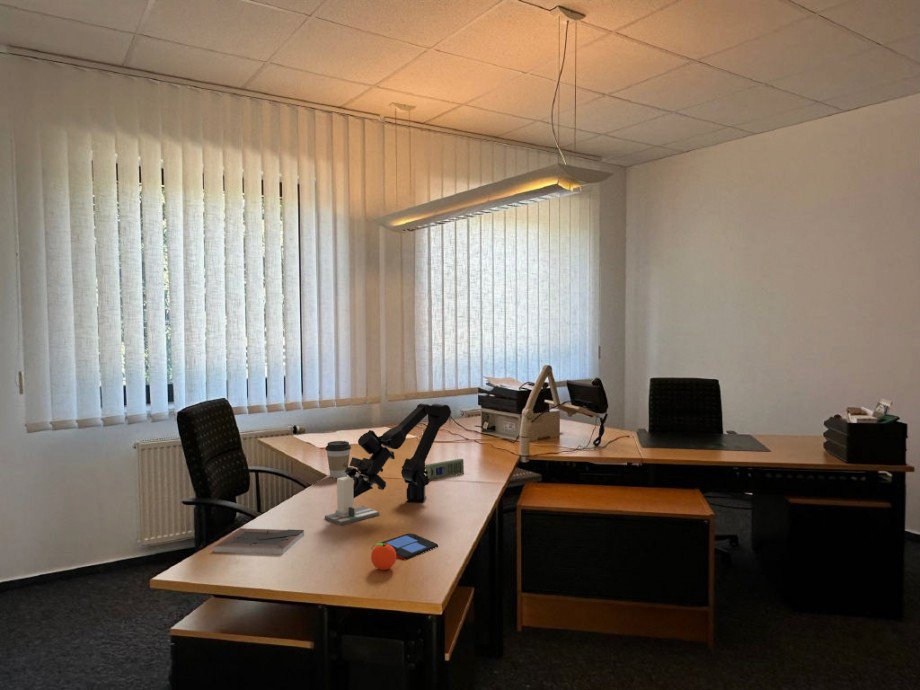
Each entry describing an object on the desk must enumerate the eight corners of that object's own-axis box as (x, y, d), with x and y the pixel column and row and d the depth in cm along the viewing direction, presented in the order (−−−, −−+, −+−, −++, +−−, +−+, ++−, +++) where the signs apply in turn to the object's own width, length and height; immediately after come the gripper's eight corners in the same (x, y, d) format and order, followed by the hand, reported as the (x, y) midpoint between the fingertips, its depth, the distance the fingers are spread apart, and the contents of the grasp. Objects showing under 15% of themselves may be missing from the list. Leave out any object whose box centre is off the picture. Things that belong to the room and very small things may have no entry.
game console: (404, 562, 178) (404, 554, 178) (375, 551, 186) (375, 543, 186) (439, 548, 188) (439, 540, 188) (410, 538, 197) (410, 531, 197)
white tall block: (347, 511, 220) (347, 475, 219) (359, 516, 214) (359, 479, 214) (335, 514, 216) (335, 478, 216) (347, 519, 211) (346, 482, 210)
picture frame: (304, 537, 199) (240, 535, 202) (304, 529, 199) (240, 527, 202) (283, 556, 183) (214, 554, 186) (283, 548, 183) (213, 545, 186)
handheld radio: (465, 473, 279) (418, 482, 264) (460, 472, 282) (414, 481, 267) (464, 459, 279) (418, 467, 264) (460, 458, 282) (413, 466, 267)
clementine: (363, 569, 171) (362, 544, 171) (379, 561, 177) (379, 536, 177) (385, 576, 167) (384, 550, 166) (401, 567, 172) (401, 542, 172)
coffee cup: (346, 480, 268) (345, 445, 268) (321, 479, 271) (320, 444, 270) (355, 473, 279) (355, 440, 279) (331, 472, 282) (331, 440, 281)
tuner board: (363, 508, 227) (363, 505, 227) (379, 514, 220) (379, 511, 220) (324, 518, 216) (324, 515, 216) (340, 525, 209) (340, 521, 209)
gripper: (348, 444, 227) (322, 480, 220) (378, 452, 214) (351, 490, 206) (366, 462, 233) (341, 497, 226) (397, 471, 219) (371, 508, 212)
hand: (351, 498), depth 217 cm, fingers closed, pressing on white tall block
